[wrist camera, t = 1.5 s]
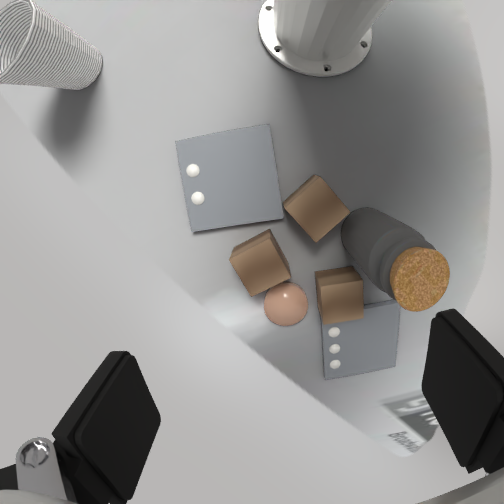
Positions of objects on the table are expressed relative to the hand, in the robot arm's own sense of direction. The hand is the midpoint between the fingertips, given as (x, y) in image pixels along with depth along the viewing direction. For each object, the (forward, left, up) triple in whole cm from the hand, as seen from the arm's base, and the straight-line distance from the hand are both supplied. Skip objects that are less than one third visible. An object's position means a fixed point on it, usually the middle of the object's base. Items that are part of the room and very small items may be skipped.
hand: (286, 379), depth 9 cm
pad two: (-5, -4, -26) cm, 27 cm away
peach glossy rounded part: (+10, 0, -26) cm, 28 cm away
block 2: (-1, +4, -26) cm, 27 cm away
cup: (-23, -20, -26) cm, 40 cm away
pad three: (+17, +9, -26) cm, 33 cm away
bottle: (+3, +10, -26) cm, 28 cm away
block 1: (+4, -2, -26) cm, 27 cm away
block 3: (+9, +6, -26) cm, 29 cm away
